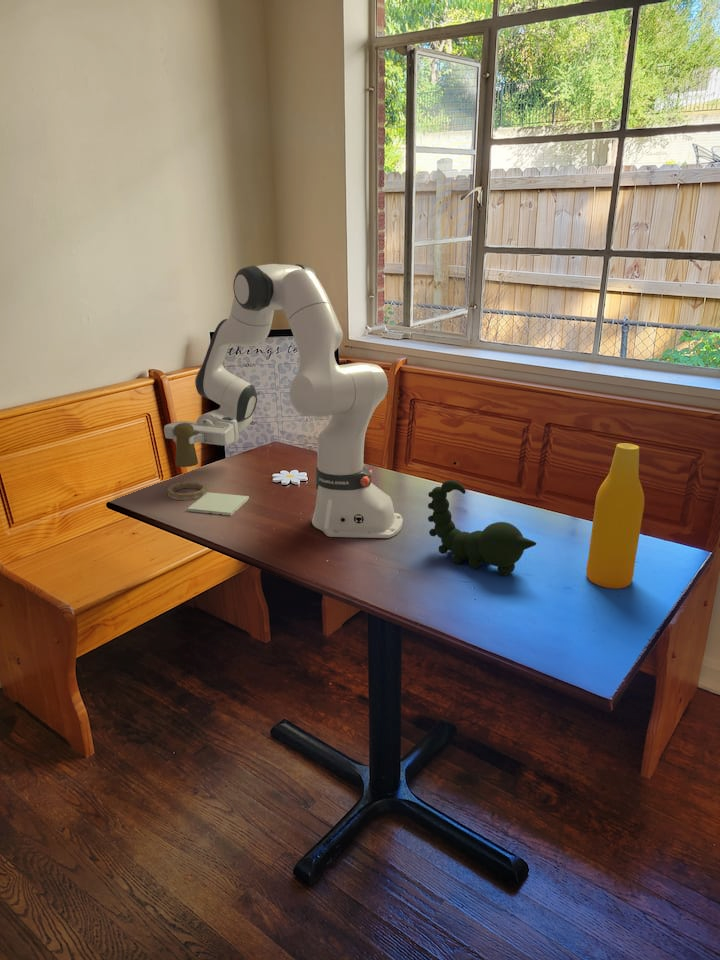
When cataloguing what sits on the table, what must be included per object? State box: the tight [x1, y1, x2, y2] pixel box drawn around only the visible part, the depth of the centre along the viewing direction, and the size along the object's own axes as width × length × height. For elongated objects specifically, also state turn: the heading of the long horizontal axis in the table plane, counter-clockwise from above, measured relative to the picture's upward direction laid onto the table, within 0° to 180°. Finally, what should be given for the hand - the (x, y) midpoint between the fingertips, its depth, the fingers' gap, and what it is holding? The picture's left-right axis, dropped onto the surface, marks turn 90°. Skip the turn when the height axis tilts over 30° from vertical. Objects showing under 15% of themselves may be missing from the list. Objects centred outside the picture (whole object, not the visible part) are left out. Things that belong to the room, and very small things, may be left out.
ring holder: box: [167, 480, 209, 501], centre depth 189 cm, size 10×10×2 cm
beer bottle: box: [585, 442, 645, 590], centre depth 139 cm, size 9×9×29 cm
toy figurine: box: [427, 479, 537, 576], centre depth 146 cm, size 9×19×25 cm
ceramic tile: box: [186, 491, 250, 517], centre depth 181 cm, size 12×12×1 cm
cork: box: [174, 423, 199, 468], centre depth 184 cm, size 6×6×11 cm
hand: (181, 440), depth 183 cm, fingers closed on cork, 3 cm apart
